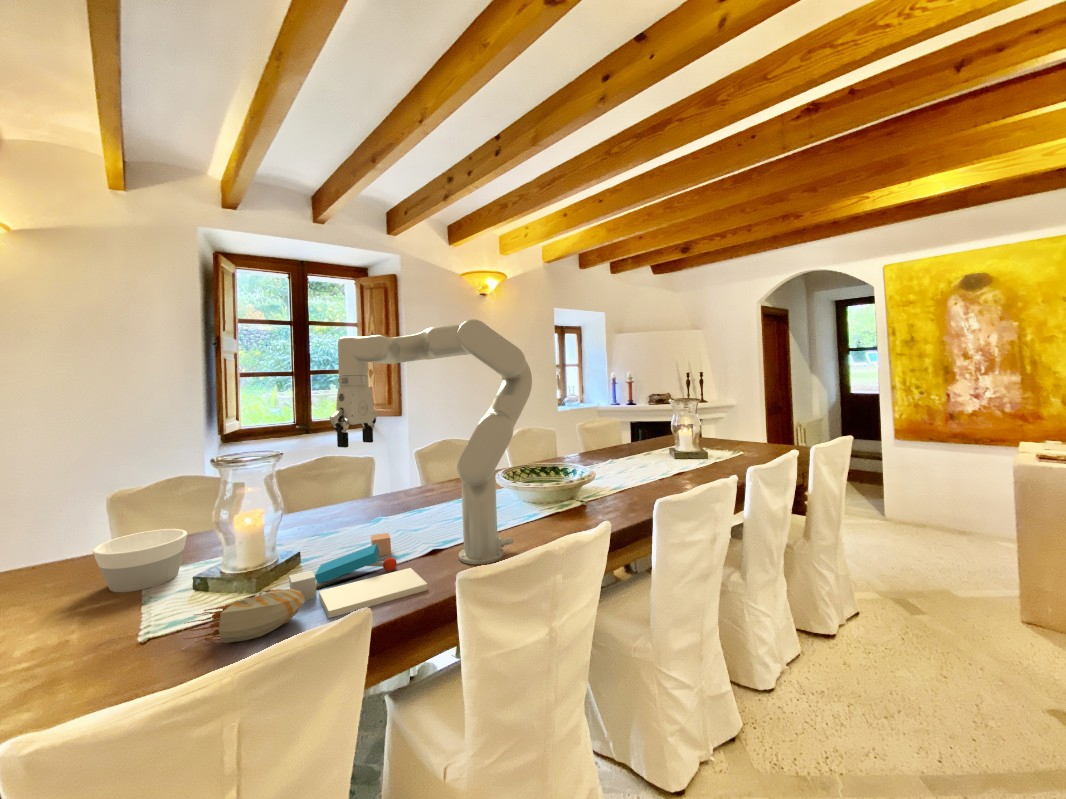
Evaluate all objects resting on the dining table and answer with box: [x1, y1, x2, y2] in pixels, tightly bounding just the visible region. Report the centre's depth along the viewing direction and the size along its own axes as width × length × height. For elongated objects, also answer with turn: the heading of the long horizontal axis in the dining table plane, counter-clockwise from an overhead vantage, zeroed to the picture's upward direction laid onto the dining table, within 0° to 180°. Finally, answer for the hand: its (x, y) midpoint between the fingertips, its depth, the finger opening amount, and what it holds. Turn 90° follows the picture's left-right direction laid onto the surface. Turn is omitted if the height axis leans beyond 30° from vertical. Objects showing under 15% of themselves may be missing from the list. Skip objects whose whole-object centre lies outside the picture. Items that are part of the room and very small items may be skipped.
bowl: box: [91, 528, 188, 593], centre depth 125 cm, size 19×19×11 cm
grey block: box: [288, 569, 317, 601], centre depth 112 cm, size 5×5×5 cm
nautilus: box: [183, 588, 306, 646], centre depth 97 cm, size 8×22×15 cm
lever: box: [314, 544, 398, 584], centre depth 125 cm, size 7×7×19 cm
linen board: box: [318, 567, 428, 619], centre depth 113 cm, size 22×12×2 cm, turn 123°
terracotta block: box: [370, 532, 392, 557], centre depth 139 cm, size 5×5×5 cm
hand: (355, 444), depth 131 cm, fingers open, 9 cm apart
